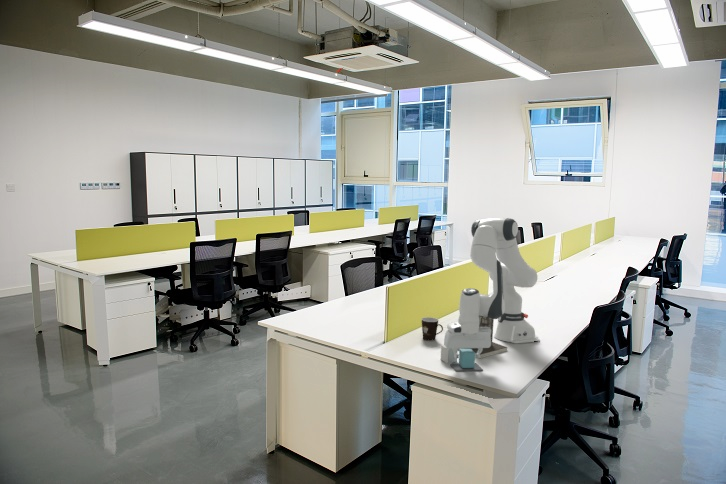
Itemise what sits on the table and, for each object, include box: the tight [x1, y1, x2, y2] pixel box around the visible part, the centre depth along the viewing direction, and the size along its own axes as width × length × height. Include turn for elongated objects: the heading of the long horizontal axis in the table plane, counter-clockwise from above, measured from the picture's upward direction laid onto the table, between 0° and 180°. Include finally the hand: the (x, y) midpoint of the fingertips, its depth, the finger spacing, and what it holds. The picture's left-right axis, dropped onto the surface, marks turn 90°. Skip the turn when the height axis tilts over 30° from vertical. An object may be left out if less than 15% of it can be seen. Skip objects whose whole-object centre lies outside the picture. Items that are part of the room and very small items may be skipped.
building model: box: [458, 316, 508, 359], centre depth 238 cm, size 20×20×18 cm
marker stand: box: [449, 362, 484, 373], centre depth 214 cm, size 12×8×7 cm, turn 98°
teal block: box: [458, 349, 476, 368], centre depth 214 cm, size 5×5×7 cm
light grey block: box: [440, 344, 459, 364], centre depth 222 cm, size 5×5×7 cm
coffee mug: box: [421, 316, 444, 342], centre depth 251 cm, size 12×9×10 cm
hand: (466, 357), depth 214 cm, fingers open, 8 cm apart
